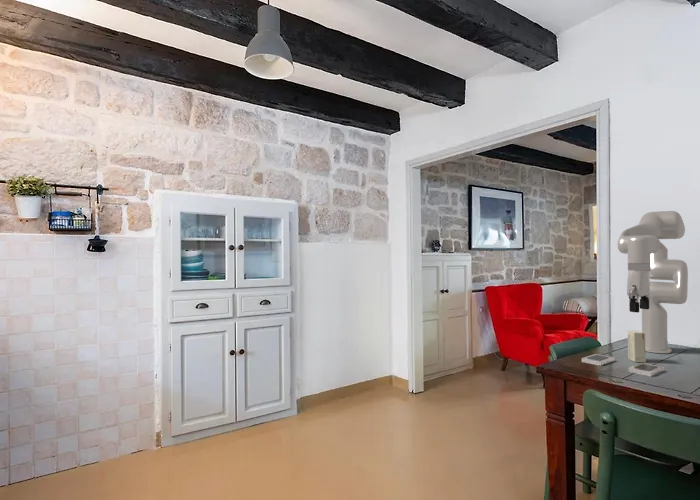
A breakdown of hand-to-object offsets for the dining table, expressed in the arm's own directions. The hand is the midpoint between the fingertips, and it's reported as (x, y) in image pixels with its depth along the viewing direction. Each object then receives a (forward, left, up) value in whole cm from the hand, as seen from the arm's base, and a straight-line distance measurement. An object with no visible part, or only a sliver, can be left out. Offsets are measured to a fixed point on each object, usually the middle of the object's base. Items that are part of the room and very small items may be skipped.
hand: (639, 310), depth 167 cm
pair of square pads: (+4, -5, -23) cm, 24 cm away
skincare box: (-10, -5, -23) cm, 26 cm away
